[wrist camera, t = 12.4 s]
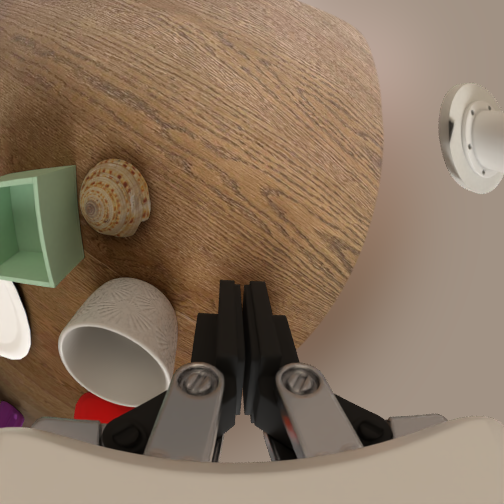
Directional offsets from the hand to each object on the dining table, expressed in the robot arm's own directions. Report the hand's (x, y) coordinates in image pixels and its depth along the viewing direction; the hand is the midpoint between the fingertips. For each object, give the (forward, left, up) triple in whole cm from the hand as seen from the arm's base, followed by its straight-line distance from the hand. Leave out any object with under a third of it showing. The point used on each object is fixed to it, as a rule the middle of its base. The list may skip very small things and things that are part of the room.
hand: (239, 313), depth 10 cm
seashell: (+11, -6, -19) cm, 23 cm away
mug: (+82, +22, -19) cm, 87 cm away
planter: (+17, +7, -19) cm, 27 cm away
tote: (+22, -10, -19) cm, 31 cm away
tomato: (+35, +22, -19) cm, 46 cm away
